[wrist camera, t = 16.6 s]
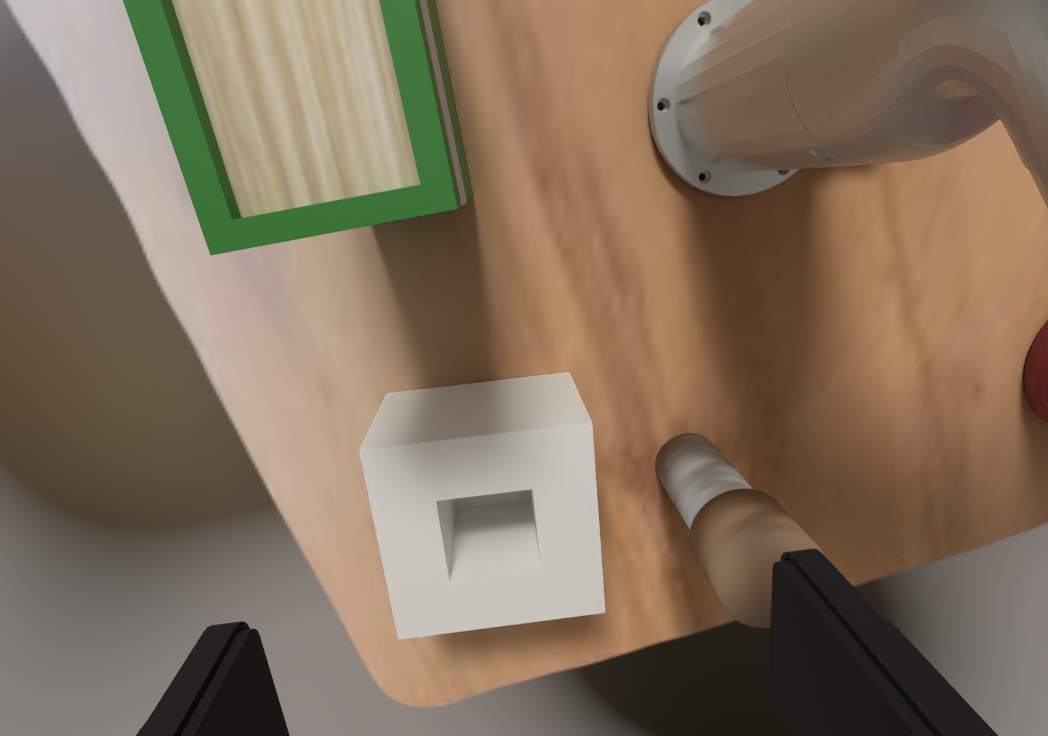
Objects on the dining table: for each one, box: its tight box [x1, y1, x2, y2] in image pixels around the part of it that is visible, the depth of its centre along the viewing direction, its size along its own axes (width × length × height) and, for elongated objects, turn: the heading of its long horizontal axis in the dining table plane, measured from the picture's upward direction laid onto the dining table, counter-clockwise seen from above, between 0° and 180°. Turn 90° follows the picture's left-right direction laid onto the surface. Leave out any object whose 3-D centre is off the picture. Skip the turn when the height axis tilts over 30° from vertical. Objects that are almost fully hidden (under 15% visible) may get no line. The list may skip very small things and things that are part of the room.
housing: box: [359, 372, 605, 640], centre depth 41 cm, size 14×14×10 cm
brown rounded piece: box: [655, 433, 825, 628], centre depth 40 cm, size 6×6×15 cm
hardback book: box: [123, 0, 473, 255], centre depth 26 cm, size 18×7×24 cm, turn 10°
